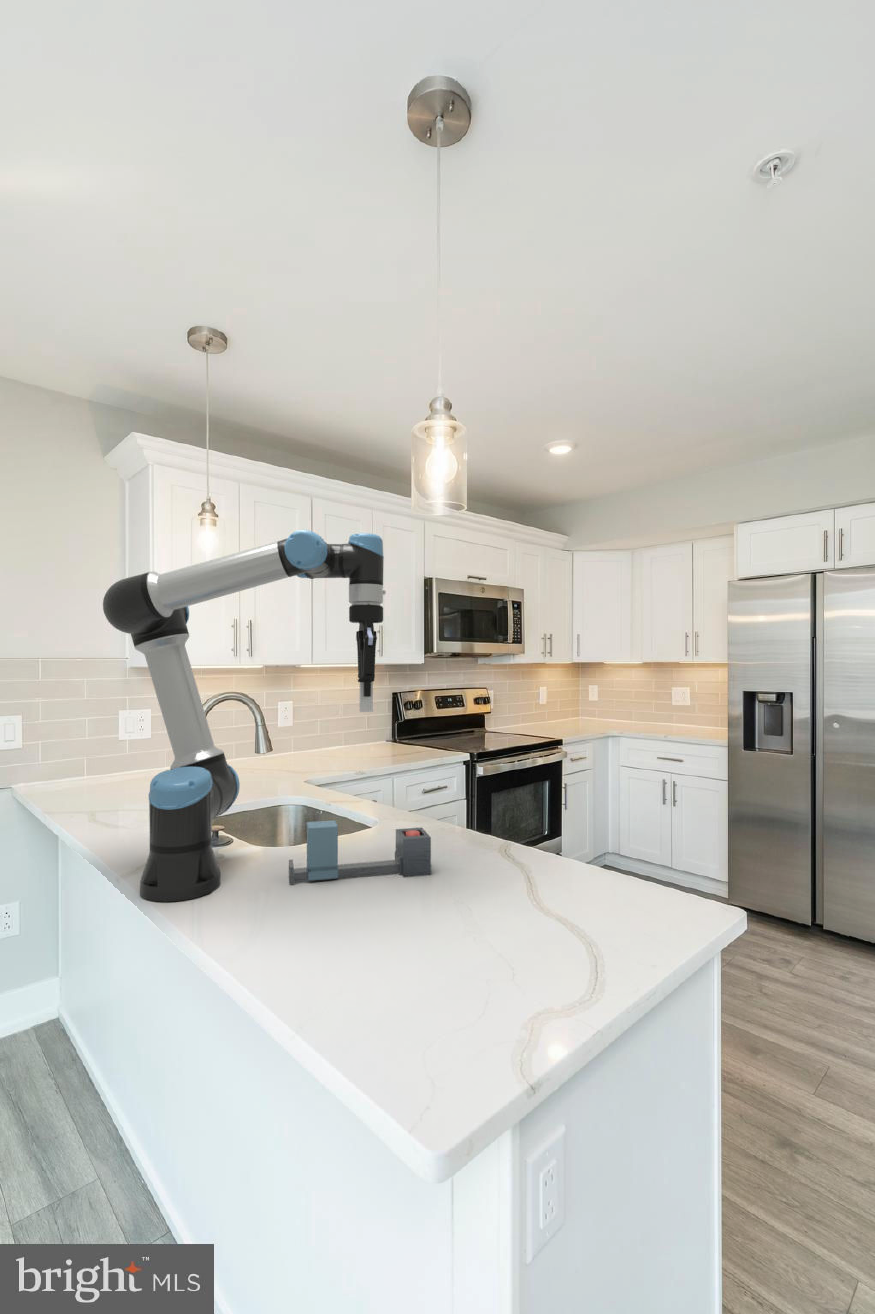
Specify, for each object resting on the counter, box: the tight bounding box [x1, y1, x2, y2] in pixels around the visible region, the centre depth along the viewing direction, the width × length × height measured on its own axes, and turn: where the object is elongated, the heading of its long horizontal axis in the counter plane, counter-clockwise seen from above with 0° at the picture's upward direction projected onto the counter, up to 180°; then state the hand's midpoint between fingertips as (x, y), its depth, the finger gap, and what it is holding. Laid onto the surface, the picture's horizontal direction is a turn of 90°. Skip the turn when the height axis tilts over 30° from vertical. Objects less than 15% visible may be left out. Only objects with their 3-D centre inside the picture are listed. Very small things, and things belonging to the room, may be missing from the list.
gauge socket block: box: [395, 827, 432, 878], centre depth 140 cm, size 6×8×8 cm
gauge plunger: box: [406, 830, 420, 836], centre depth 140 cm, size 3×3×6 cm
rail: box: [288, 850, 402, 886], centre depth 136 cm, size 24×5×4 cm, turn 105°
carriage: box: [306, 819, 339, 882], centre depth 135 cm, size 6×5×11 cm
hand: (366, 711), depth 142 cm, fingers closed
